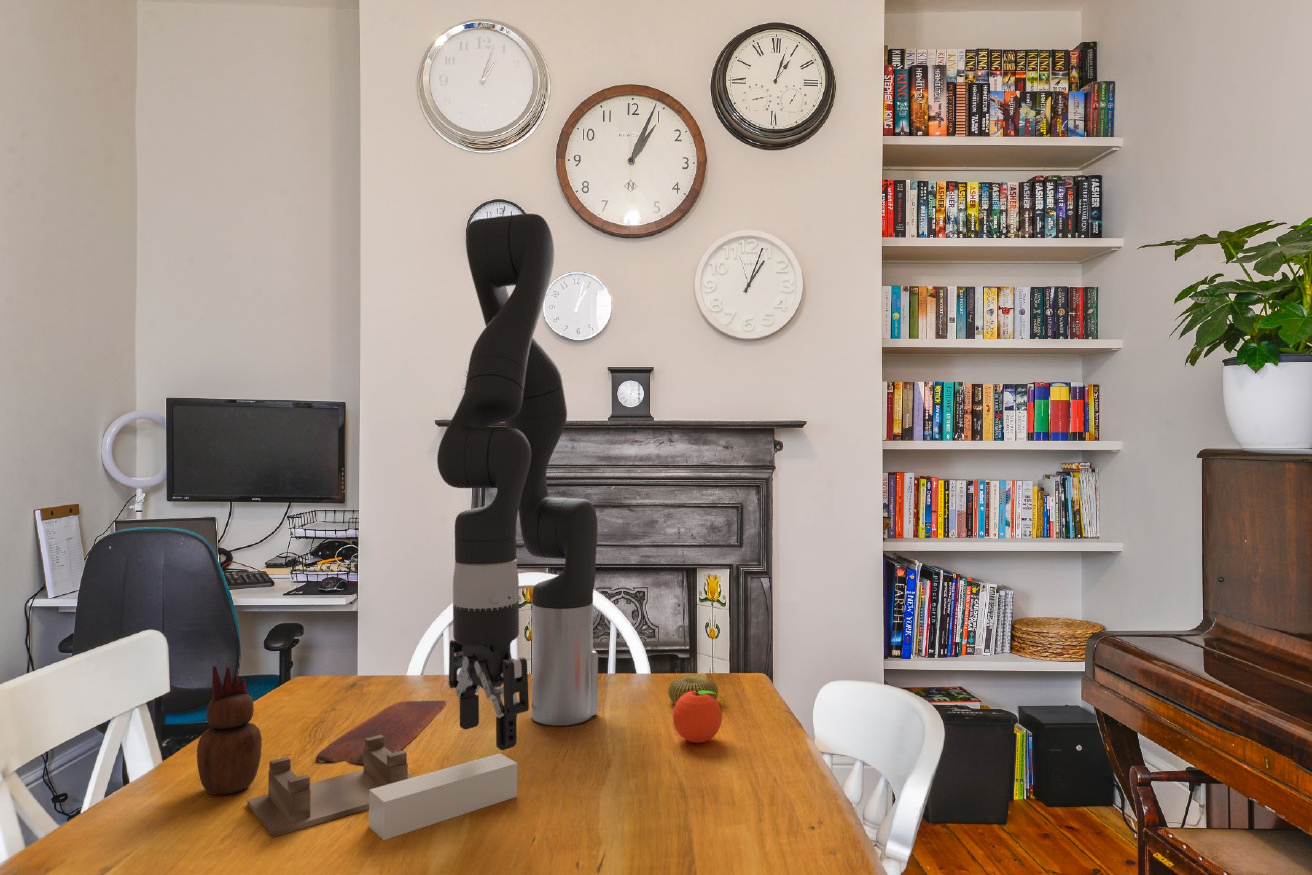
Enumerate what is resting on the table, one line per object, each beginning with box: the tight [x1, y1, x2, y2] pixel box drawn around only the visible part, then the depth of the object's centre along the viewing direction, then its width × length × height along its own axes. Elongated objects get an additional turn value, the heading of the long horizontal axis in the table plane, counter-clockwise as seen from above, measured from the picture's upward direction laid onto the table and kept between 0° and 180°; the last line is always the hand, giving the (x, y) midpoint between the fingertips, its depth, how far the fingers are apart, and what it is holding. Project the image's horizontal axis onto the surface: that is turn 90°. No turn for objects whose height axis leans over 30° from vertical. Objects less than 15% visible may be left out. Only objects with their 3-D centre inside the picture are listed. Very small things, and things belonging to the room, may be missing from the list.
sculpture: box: [667, 674, 719, 705], centre depth 128 cm, size 8×4×8 cm
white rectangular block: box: [368, 752, 518, 841], centre depth 89 cm, size 16×4×4 cm, turn 131°
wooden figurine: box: [196, 665, 263, 795], centre depth 95 cm, size 7×6×15 cm
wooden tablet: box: [315, 700, 447, 766], centre depth 116 cm, size 27×10×2 cm, turn 175°
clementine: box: [672, 690, 727, 744], centre depth 111 cm, size 8×7×7 cm
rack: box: [246, 735, 414, 838], centre depth 92 cm, size 17×10×5 cm, turn 131°
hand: (487, 737), depth 93 cm, fingers open, 8 cm apart
